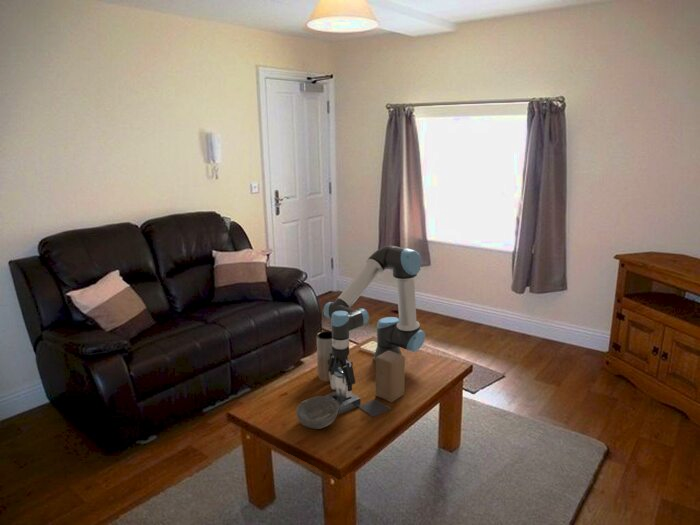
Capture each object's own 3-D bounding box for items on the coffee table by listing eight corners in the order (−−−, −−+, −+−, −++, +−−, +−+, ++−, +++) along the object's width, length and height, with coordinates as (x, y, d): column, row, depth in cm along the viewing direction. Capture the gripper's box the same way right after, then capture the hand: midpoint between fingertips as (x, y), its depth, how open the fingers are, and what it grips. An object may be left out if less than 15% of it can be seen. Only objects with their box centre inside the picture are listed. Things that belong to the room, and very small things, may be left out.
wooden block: (374, 395, 230) (374, 356, 225) (388, 387, 237) (388, 349, 232) (391, 403, 223) (392, 363, 218) (405, 394, 230) (405, 355, 225)
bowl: (304, 440, 198) (303, 423, 195) (291, 418, 213) (290, 401, 211) (345, 429, 204) (345, 412, 202) (330, 408, 220) (329, 392, 218)
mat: (375, 400, 226) (375, 399, 226) (390, 409, 219) (390, 408, 218) (358, 407, 220) (358, 406, 220) (373, 417, 213) (373, 416, 212)
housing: (344, 394, 231) (344, 387, 230) (360, 405, 222) (360, 398, 221) (323, 403, 224) (323, 396, 223) (339, 414, 215) (338, 407, 214)
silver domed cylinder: (343, 399, 227) (342, 367, 223) (351, 404, 223) (350, 372, 219) (332, 403, 224) (331, 371, 220) (340, 409, 219) (339, 376, 215)
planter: (341, 377, 247) (340, 335, 241) (324, 383, 242) (323, 340, 236) (331, 370, 255) (329, 329, 249) (314, 375, 250) (312, 333, 244)
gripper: (319, 340, 222) (320, 384, 228) (349, 357, 205) (350, 405, 211) (332, 335, 227) (333, 379, 232) (363, 352, 209) (363, 399, 215)
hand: (341, 391), depth 222 cm, fingers open, 10 cm apart
